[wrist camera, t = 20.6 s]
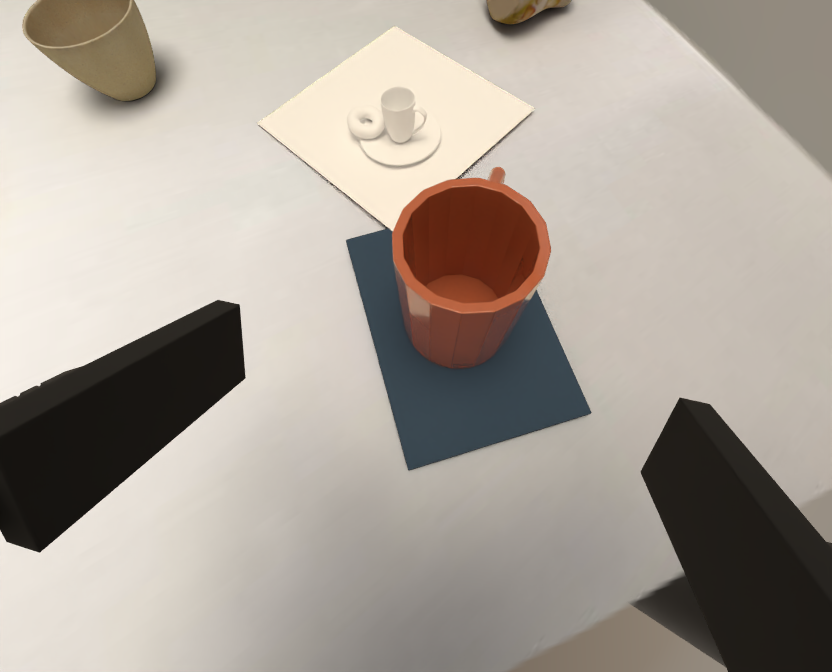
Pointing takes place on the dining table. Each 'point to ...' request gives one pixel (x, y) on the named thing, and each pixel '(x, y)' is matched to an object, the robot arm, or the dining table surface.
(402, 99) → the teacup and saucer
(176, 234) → the dining table surface
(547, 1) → the floral patterned cup
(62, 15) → the flower pot
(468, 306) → the tall mug
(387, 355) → the mat
